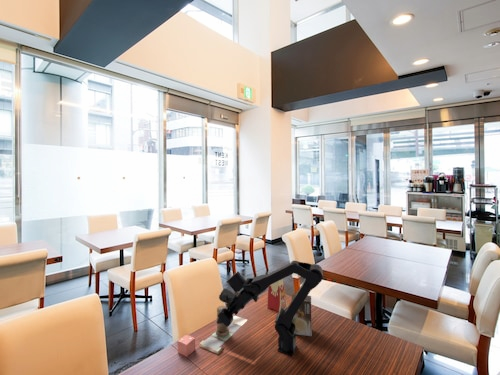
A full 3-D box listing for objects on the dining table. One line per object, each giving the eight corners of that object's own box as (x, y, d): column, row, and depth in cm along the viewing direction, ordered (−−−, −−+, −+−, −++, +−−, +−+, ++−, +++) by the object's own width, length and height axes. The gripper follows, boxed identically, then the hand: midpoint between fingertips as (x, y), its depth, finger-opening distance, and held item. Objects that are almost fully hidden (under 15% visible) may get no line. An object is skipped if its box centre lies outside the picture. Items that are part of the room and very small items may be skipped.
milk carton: (287, 307, 142) (287, 271, 141) (279, 314, 134) (280, 277, 134) (272, 302, 147) (272, 268, 146) (264, 309, 139) (264, 273, 138)
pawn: (229, 328, 118) (229, 305, 118) (227, 336, 112) (227, 312, 112) (217, 328, 119) (216, 304, 118) (214, 336, 113) (213, 311, 112)
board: (250, 322, 127) (250, 320, 127) (217, 354, 105) (217, 351, 105) (233, 317, 132) (233, 314, 132) (199, 346, 110) (199, 343, 110)
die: (195, 349, 108) (195, 337, 107) (186, 356, 103) (186, 344, 103) (186, 345, 110) (186, 334, 110) (177, 352, 106) (177, 340, 106)
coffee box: (311, 328, 122) (311, 295, 121) (311, 336, 116) (311, 302, 115) (292, 326, 124) (292, 293, 123) (291, 334, 118) (291, 299, 117)
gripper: (236, 276, 122) (215, 296, 126) (222, 294, 104) (198, 316, 108) (252, 294, 121) (231, 314, 124) (240, 315, 103) (215, 337, 106)
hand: (219, 319), depth 116 cm, fingers closed on pawn, 4 cm apart
